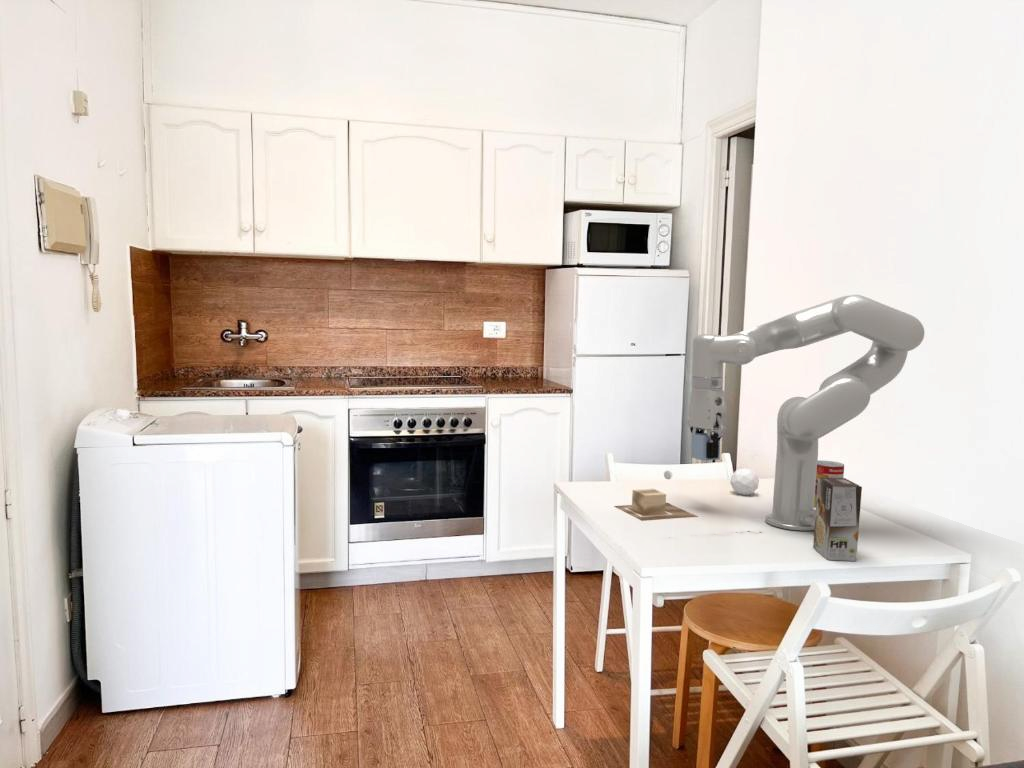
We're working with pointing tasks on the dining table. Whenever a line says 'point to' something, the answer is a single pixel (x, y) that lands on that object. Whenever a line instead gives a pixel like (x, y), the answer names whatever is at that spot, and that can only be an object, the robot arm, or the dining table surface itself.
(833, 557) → the coffee box
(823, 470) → the canned food
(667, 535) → the dining table surface
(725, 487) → the dining table surface
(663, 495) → the oak block
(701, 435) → the slate block
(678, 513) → the plate
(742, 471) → the geometric ball
